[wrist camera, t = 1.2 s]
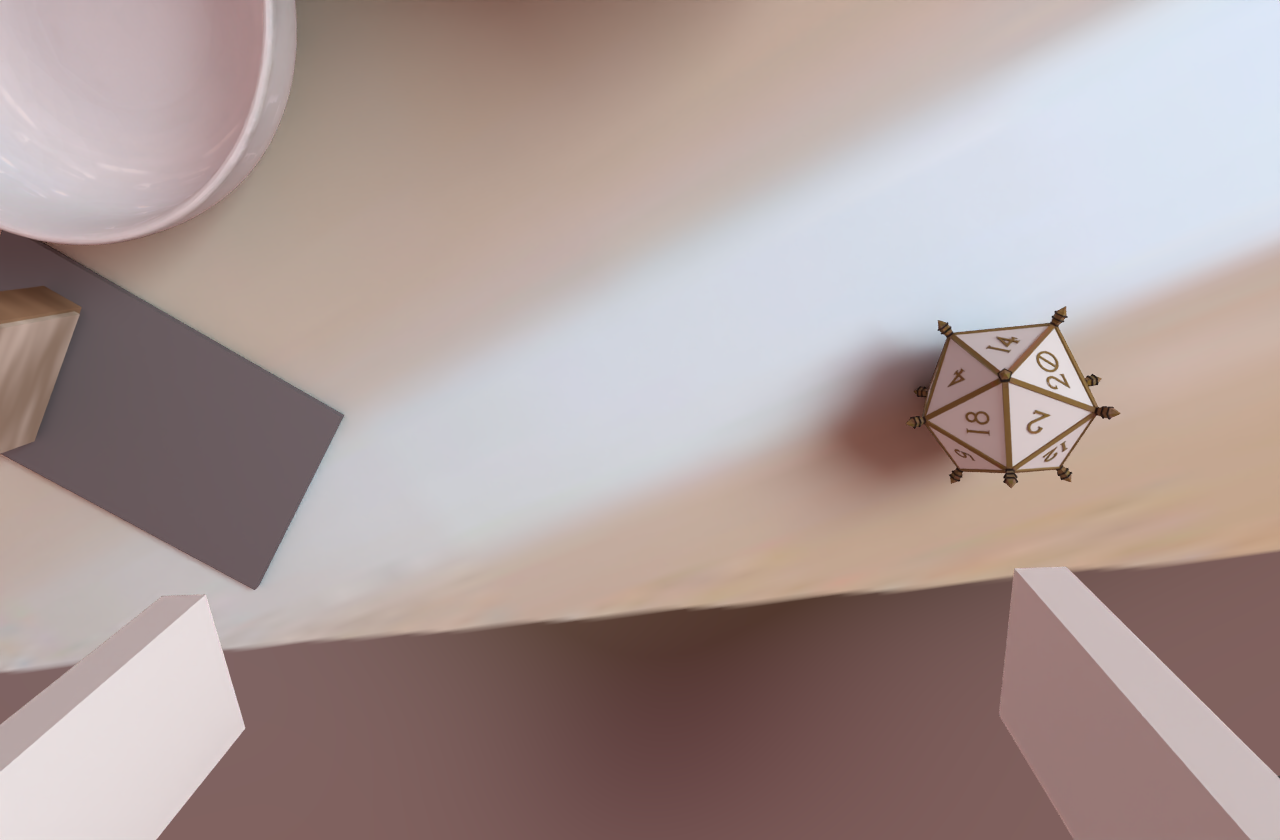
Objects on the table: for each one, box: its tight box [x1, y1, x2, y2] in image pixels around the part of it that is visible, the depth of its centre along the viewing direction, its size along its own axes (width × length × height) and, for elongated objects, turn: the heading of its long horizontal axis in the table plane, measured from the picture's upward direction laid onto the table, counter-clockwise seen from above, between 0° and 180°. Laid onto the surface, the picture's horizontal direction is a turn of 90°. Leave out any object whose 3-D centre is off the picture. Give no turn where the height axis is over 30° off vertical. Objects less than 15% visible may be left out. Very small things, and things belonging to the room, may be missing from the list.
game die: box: [906, 306, 1121, 488], centre depth 34 cm, size 9×8×10 cm
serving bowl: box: [0, 0, 297, 245], centre depth 32 cm, size 21×21×7 cm
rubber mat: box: [0, 230, 344, 590], centre depth 41 cm, size 20×13×1 cm, turn 59°
